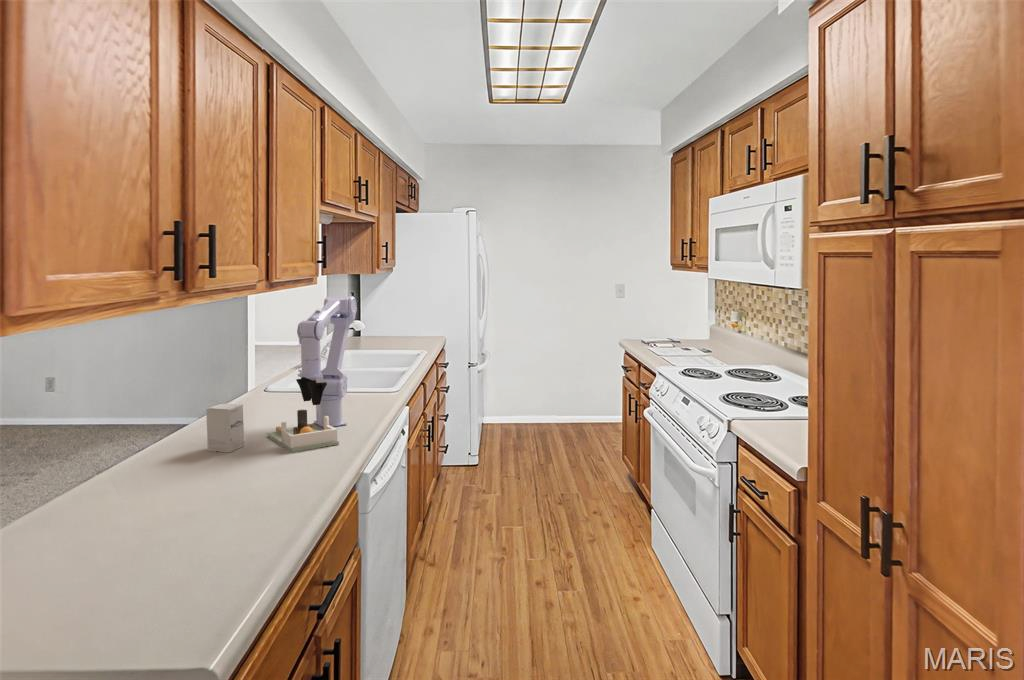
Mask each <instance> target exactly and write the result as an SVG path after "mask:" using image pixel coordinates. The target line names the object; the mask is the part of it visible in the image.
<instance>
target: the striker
mask: <svg viewBox="0 0 1024 680" xmlns="http://www.w3.org/2000/svg"><path fill="white" fill-rule="evenodd" d="M296 412H297V414H296V415H297V426H294V427H293V434H294V435H296V434H300V430H301V429H302V428H303V427H311V428H312V427H313V426H312V425H310V424H308V410H307V409H298V410H297V411H296Z"/></svg>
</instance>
